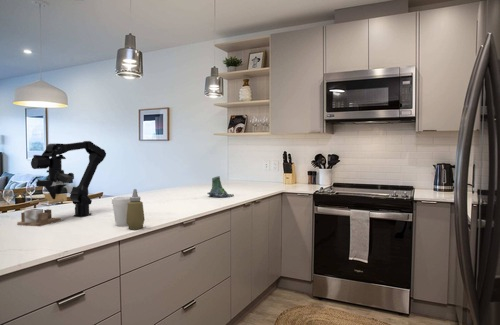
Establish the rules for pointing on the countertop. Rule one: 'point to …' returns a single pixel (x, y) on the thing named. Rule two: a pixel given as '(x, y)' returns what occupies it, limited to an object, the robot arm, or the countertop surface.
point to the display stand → (37, 217)
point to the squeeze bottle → (135, 212)
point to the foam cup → (120, 210)
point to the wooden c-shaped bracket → (48, 198)
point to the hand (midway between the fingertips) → (55, 198)
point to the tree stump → (218, 189)
